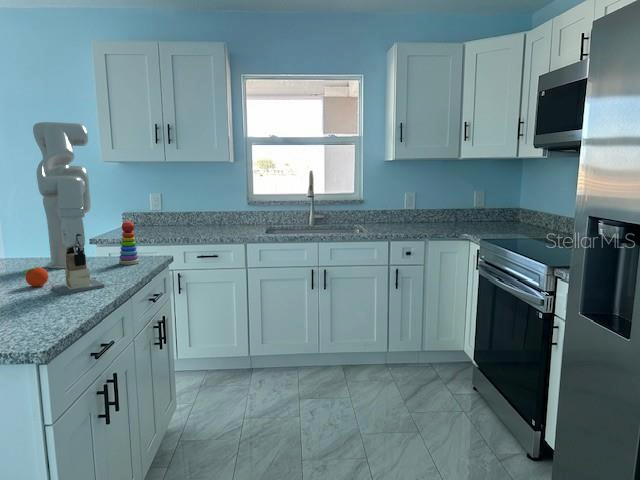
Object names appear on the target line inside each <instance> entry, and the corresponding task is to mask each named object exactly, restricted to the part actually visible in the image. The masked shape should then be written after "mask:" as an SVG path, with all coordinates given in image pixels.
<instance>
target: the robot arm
mask: <svg viewBox="0 0 640 480" xmlns="http://www.w3.org/2000/svg"><path fill="white" fill-rule="evenodd" d="M32 132H33V133H32V134H33V137H34V140H35V142H36V144H37V146H38V148H39V149H40V152H41V155H42V159H41V160H40V162H39V163H38V166H37V168H36V181H37V187H38V192H39V193H40V195H41V196H42V205H43V209H44V212H45V217H46V224H47V231H48V232H47V233H48V243H49V244H48V245H49V254H50V262H49V263H47V265H46V267H47V268H49V269H60V270H61V269H65V268H67V266H66V255H65V254H73V253H75V255H74V261H75V266H82V265H85V255H86V254H85V253H86V251H85V245H86V236H85V235H86V234H85V227H84V220H83V218H86V215H85V214H86V213H89V212H90V210H91V192H90V191H91V190H90V180H89V174H88V170H87V168H85V167H84V166H81V165H69V164H71V163H72V162H73V161H74V159H75V152H74V148H73V147H85V146H87V145H88V142H89V132H88V130H87V128H86V126H84V124H82V123H74V122H73V123H71V122H57V121H56V122H55V121H42V122H41V121H40V122H37V123H34V125H33V126H32Z"/></svg>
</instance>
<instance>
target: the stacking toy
mask: <svg viewBox="0 0 640 480" xmlns="http://www.w3.org/2000/svg"><path fill="white" fill-rule="evenodd" d="M134 229H135V225H134V223H133V222H132V221H129V220H126V221H124V222H123V223H122V225H121V230H122V233H121V239H120V241H121V243H120V244H121V246H120V252H119V254H120V255H119V260H118V261H119V264H120V265H122V266H127V265H128V266H129V265H137V264H139V261H140V260H139V255H138V250H137V246H136V245H137V242H136V241H135V240H136V238H135V237H134V236H135V232H134Z"/></svg>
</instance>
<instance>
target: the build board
mask: <svg viewBox="0 0 640 480" xmlns="http://www.w3.org/2000/svg"><path fill="white" fill-rule="evenodd" d="M101 288H105V284H104V283H102V282H100V281H98V280H96V279H90V285H89V286H83V287H77V288H70V287H69V286H67V285H66V283H64V284H58V285H53V286H51V290H52V291H54V292H55V293H57V294H58V295H60V296H64V295H70V294H74V293H75V294H76V293H80V292H86V291H92V290H97V289H101Z"/></svg>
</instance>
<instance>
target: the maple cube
mask: <svg viewBox="0 0 640 480" xmlns="http://www.w3.org/2000/svg"><path fill="white" fill-rule="evenodd" d="M64 273H65V275H64V276H65V284H66V285H67V286H69V287H70V288H77V287H83V286H89V285H90V280H91V278H90V275H91V274H90V268H89V267H87V269H81V270H74V271H70V270H68V269H67V268H64Z"/></svg>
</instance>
